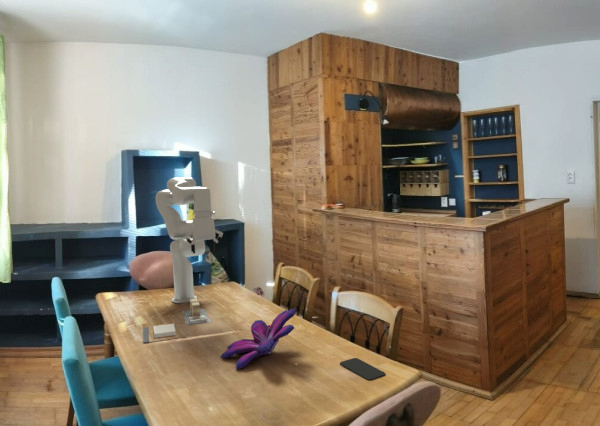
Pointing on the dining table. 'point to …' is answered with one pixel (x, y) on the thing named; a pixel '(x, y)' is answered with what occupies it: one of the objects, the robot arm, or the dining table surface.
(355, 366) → the phone
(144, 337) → the mat
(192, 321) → the tan bar with plate
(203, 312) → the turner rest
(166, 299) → the dining table surface
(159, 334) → the tile
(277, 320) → the decorative flower
